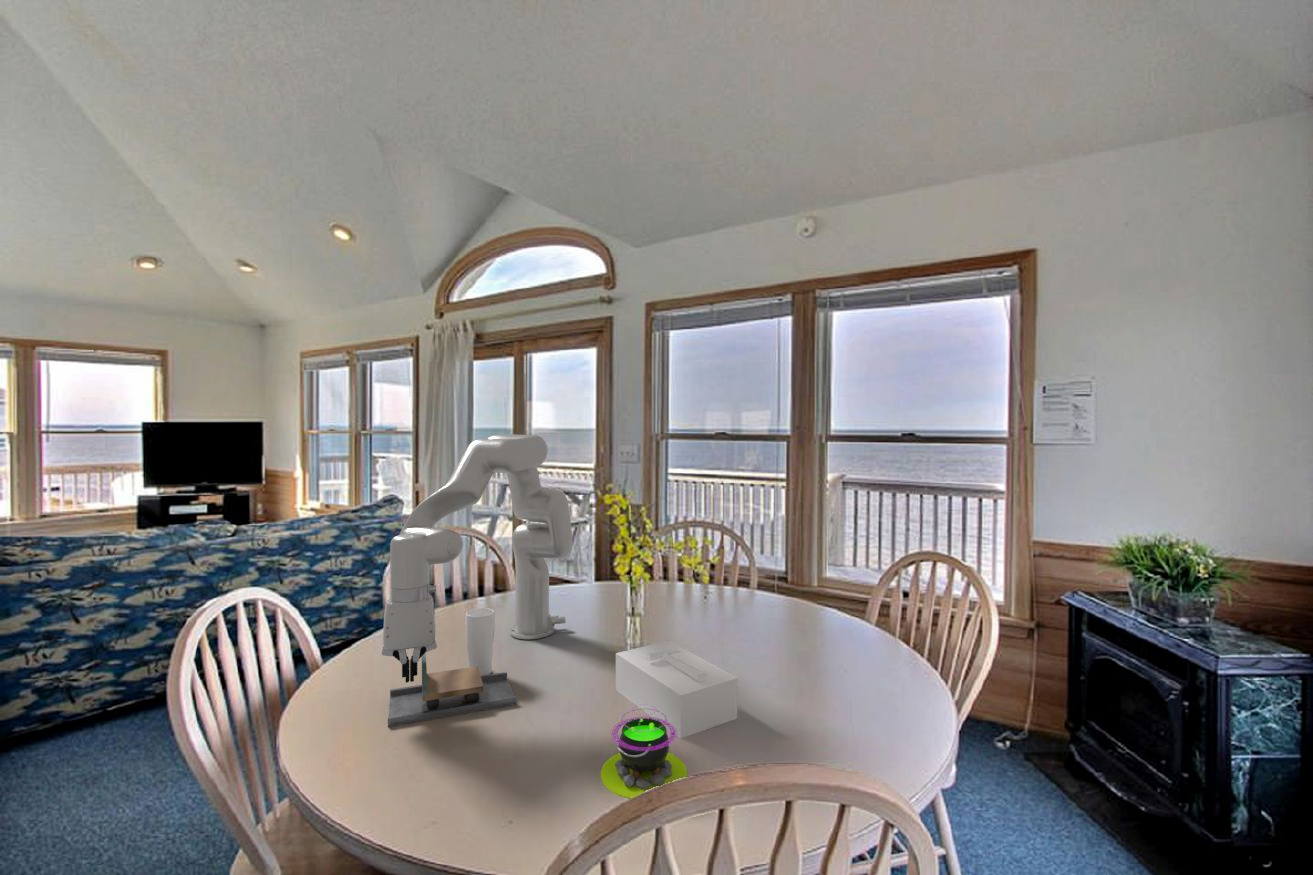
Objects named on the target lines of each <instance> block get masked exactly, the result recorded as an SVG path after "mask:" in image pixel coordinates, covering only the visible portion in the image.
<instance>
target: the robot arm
mask: <svg viewBox="0 0 1313 875" xmlns="http://www.w3.org/2000/svg"><path fill="white" fill-rule="evenodd" d="M547 456H548V445H547V443H546V441H545V439H544V438H543V437H541V436H540V435H537V434H513V433H511V434H510V433H509V434H508V433H507V434H506V433H504V434H503V433H501V434H500V433H498V434H493V435H490V436H489V437H488V438H478V439H475V440H473V441H472V442H470V443H469V445H468V446H467V447H466V449H465V451H464V453H463V454H462V456H461V457H460V460H459V461H458V464H457V465H456V467H455V468H454V470H453V472H452V474H451V475H450V477H449V479H448V481H447V483H446V484H444V486H443V487H441V488H440V489H438V490H436V491H435V492H433V493H432V494H430V495H429V496H428V497H427V498H426V499H423V500H422V501H421V502H420V503H419V504H418V505H417V506H416V507H415V508H414V509H413V510H412V512H411V513H410V514H409V516H408V518H407V519H406V521H405V523H404V525H403V526H402V528H401V530H400V532H399V534H398V535H396V536H393V537H392V539H391V540H390V545H389V546H390V547H389V563H390V564H389V565H390V567H389V572H390V573H389V574H390V576H389V582H390V583H389V588H390V589H389V592H390V594H389V598H388V599H387V600H386V602H385V608H384V615H383V630H382V632H383V633H382V641H383V643H382V645H383V646H382V650H381V656H384V657H393V658H394V659H396V660H397V661H399V662H400V664H401V677H402V678H405V683H409V682H411V683H412V682H414V680H415V677H416V676H418V662H419V661H420V659H422V656H423V655H424V653H425V652H426V653H427V652H430V651H433V650H436V649H437V648H438V647H437V640H436V613H435V612H436V609H435V604H434V598H433V596H432V595H431V594H432V593H435V592H437V585H432V584H430V579H429V578H430V575H429V574H430V571H429V570H430V568H429V567H430V566H433V565H440V564H447V563H450V562H453V561H454V560H456V558H458V557H459V556H460V554H461V552H462V550H463V547H464V542H463V539H462V536H461V535H460V533H458V532H457V531H455V530H453V529H449V528H443V527H442V528H440V527H434V526H435V525H436V524H437V523H438V522H439V521H440V520H442V519H444V518H445V517H447V516H449V515H451V514H453V513H456V512H459V511H462V510H465V509H467V508H469V507H472V506H474V505H476V504H477V503H478V502H479V501H480V500H481V498H482V496H483V494H484V492H485V490H486V488H487V486H488V484H489V483H490V480H491V478H492V477H493V475H494V474H496V473H499V474H506V477H507V481H508V484H509V493H510V498H511V506H512V511H513V515H514V516H515V518H516V519H517V520H520V521H522V522H523V521H524V522H526V523H522V524H520V525H518V526H517V527H516V528H515V529H514V530H513V533H512V535H511V546H512V552H513V555H514V556H513V557H514V563H515V565H514V566H515V606H514V607H515V609H514V610H515V621H514V624H515V625H512V626H511V627H510V628H509V635H510V636H511V637H513V638H516V639H520V640H538V639H542V638H545V637H549V636H551V635H552V634H553V633H554V632H555V625H562V624H566V617H565V616H560V615H553V616H551V614H550V570H549V566H548V563H547V562H546V559H555V560H557V559H558V560H561V559H564V558H567V557H568V556H569V555H570V554H571V551H572V549H573V542H574V541H573V540H574V539H573V529H572V520H571V513H570V505H569V501H568V498H567V496H566V494H565V493H564V492H563V491H562V490H560V489H556V488H544V487H543V486H542V485H541V479H540V474H539V469H538V467H540V466H542V464H544V462H545V461H546V459H547ZM410 649H413V651H412V655H411V658H409V656H408V654H407V650H410Z"/></svg>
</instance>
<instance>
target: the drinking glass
mask: <svg viewBox="0 0 1313 875" xmlns="http://www.w3.org/2000/svg"><path fill="white" fill-rule="evenodd" d="M495 622H496V619H495V610H494V609H492V608H487V607H479V608H477V607H476V608H472V609H470V610H467V611H466V612H465V624H464V627H465V631H464V632H465V642H466V654H467V665H468V667H467V668H470V667H477V666H478V668H479V672H480V675H481V676H483V675H489V674H492V669H493V668H492V667H493V666H492V665H493V651H494V640H495V639H494V638H495V629H496V628H495V626H496V625H495V624H496V623H495Z"/></svg>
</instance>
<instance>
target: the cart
mask: <svg viewBox="0 0 1313 875" xmlns="http://www.w3.org/2000/svg"><path fill="white" fill-rule="evenodd" d="M427 669H428V668H427V652H425V653H424V655H423V656H422V657H421V685H422V701H427V708H428V709H429V710H433V709H437V708H438V706H439V699H441V698H447V697H453V696H459V695H466V694H467V700H468V702H469V703H475V702H477V701H478V700H479V693H478V692H483V683H482V679H481V675H480V672H479V668H478V666H477V667H470V668H468V667H464V668H457V669H456V668H455V669H451V670H450V669H449V670H444V671H438V672H437V671H436V672H431V673H430V672H429V673H428V670H427Z"/></svg>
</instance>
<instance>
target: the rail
mask: <svg viewBox="0 0 1313 875" xmlns="http://www.w3.org/2000/svg"><path fill="white" fill-rule="evenodd" d="M481 679H482V683H483V692H478V693H479V700H478V701H477V702H475V703H469V702H468V700H467V694H466V695H459V696H453V697H447V698H441V699H439V706H438V708H437V709H433V710H429V709H428V708H427V701H422V684H419V685H417V684H416V685H411V686H405V687H399V688H398V687H397V688H391V689H389V690H390V691H389V692H390V694H389V703H388V704H389V705H388V717H387V728H389V727H390V728H391V727H395V726H399V725H401V724H402V725H406V724H413V723H417V722H424V721H425V722H426V721H430V720H436V719H441V718H446V717H452V716H459V715H463V714H464V715H465V714H470V713H475V712H481V711H487V710H493V709H499V708H506V707H509V706H515V705H517V696H516V695H514V692H513V690H512V687H511V684H510V682H509V680H508V673H507V671H503V672H502V671H501V672H497V673H490V674H489V675H483V676H481Z"/></svg>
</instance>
